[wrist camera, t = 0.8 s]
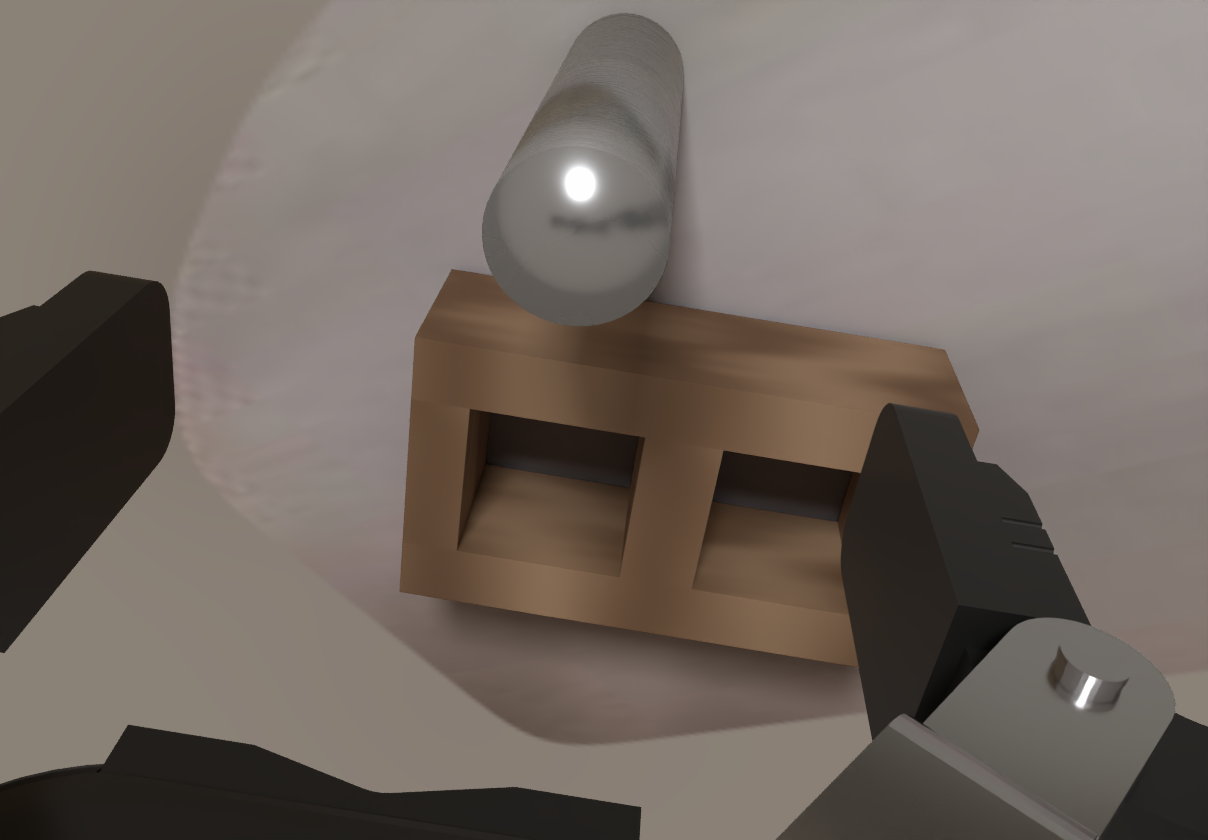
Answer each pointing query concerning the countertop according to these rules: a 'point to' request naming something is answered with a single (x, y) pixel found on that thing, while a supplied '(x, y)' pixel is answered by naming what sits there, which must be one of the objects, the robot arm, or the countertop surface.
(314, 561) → the countertop surface
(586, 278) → the peg
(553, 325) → the hole block
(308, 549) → the countertop surface
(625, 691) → the countertop surface
